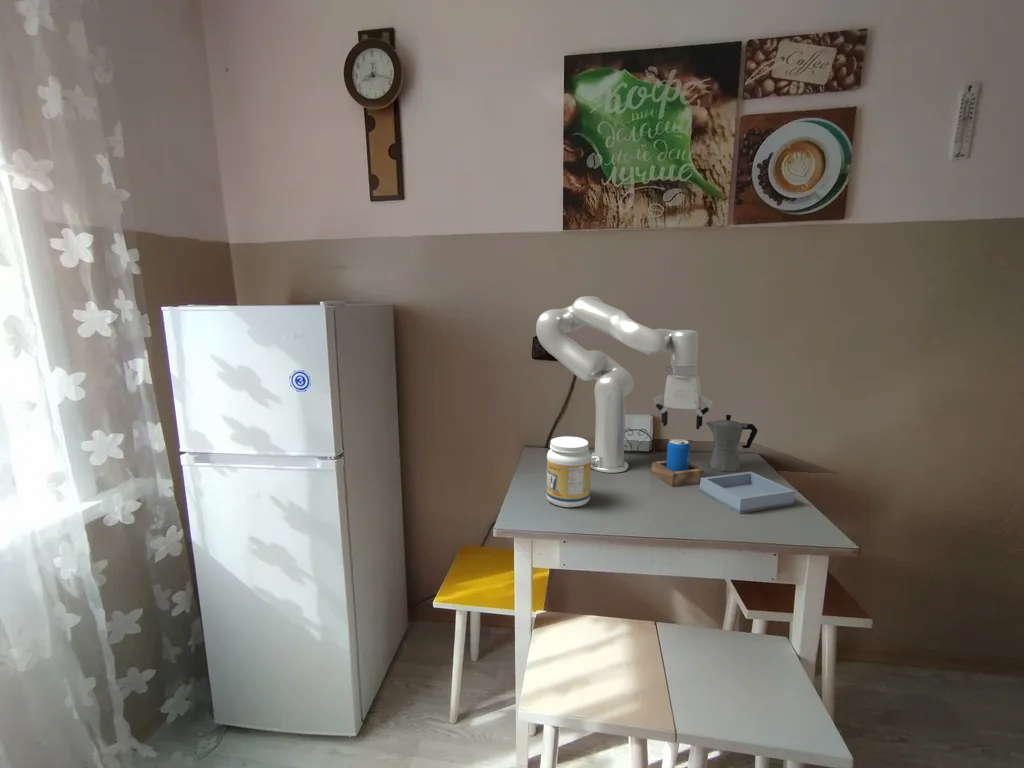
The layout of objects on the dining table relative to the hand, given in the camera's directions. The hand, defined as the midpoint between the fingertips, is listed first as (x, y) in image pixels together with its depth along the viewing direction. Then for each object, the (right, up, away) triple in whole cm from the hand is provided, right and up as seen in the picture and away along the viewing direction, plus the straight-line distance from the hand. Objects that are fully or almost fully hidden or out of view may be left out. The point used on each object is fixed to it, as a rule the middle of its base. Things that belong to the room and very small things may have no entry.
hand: (681, 426), depth 154 cm
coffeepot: (+20, -15, +13) cm, 28 cm away
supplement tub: (-36, -20, -13) cm, 43 cm away
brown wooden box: (0, -16, +3) cm, 17 cm away
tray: (+14, -19, -12) cm, 27 cm away
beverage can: (0, -17, +3) cm, 17 cm away
